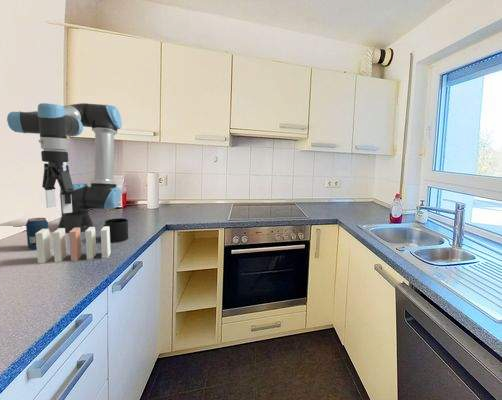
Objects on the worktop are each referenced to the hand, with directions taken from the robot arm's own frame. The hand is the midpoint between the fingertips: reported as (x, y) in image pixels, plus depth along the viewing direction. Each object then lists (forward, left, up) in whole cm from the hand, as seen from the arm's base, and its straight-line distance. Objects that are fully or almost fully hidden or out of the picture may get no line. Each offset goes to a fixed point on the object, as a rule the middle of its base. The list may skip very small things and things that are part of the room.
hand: (59, 210), depth 93 cm
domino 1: (0, -6, -19) cm, 19 cm away
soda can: (-15, -13, -19) cm, 27 cm away
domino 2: (0, -1, -19) cm, 19 cm away
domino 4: (0, +9, -19) cm, 21 cm away
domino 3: (0, +4, -19) cm, 19 cm away
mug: (-21, +14, -19) cm, 32 cm away
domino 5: (0, +14, -19) cm, 24 cm away
